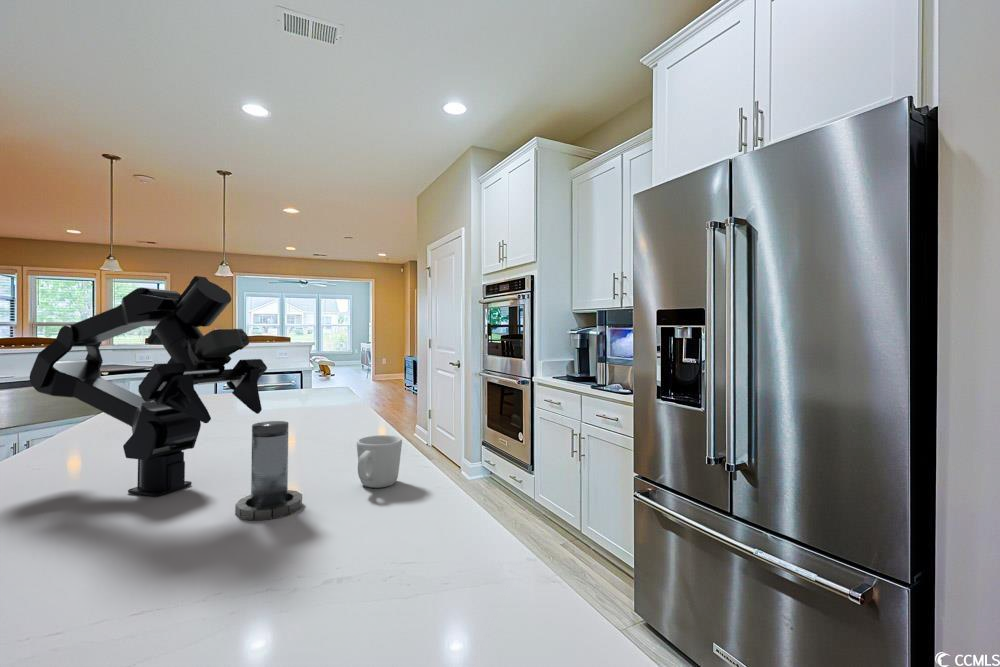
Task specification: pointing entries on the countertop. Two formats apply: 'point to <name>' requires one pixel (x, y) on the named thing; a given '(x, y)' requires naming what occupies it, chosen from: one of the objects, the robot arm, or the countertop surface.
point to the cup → (378, 460)
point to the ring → (268, 508)
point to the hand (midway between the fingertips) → (235, 416)
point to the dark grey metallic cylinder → (269, 464)
